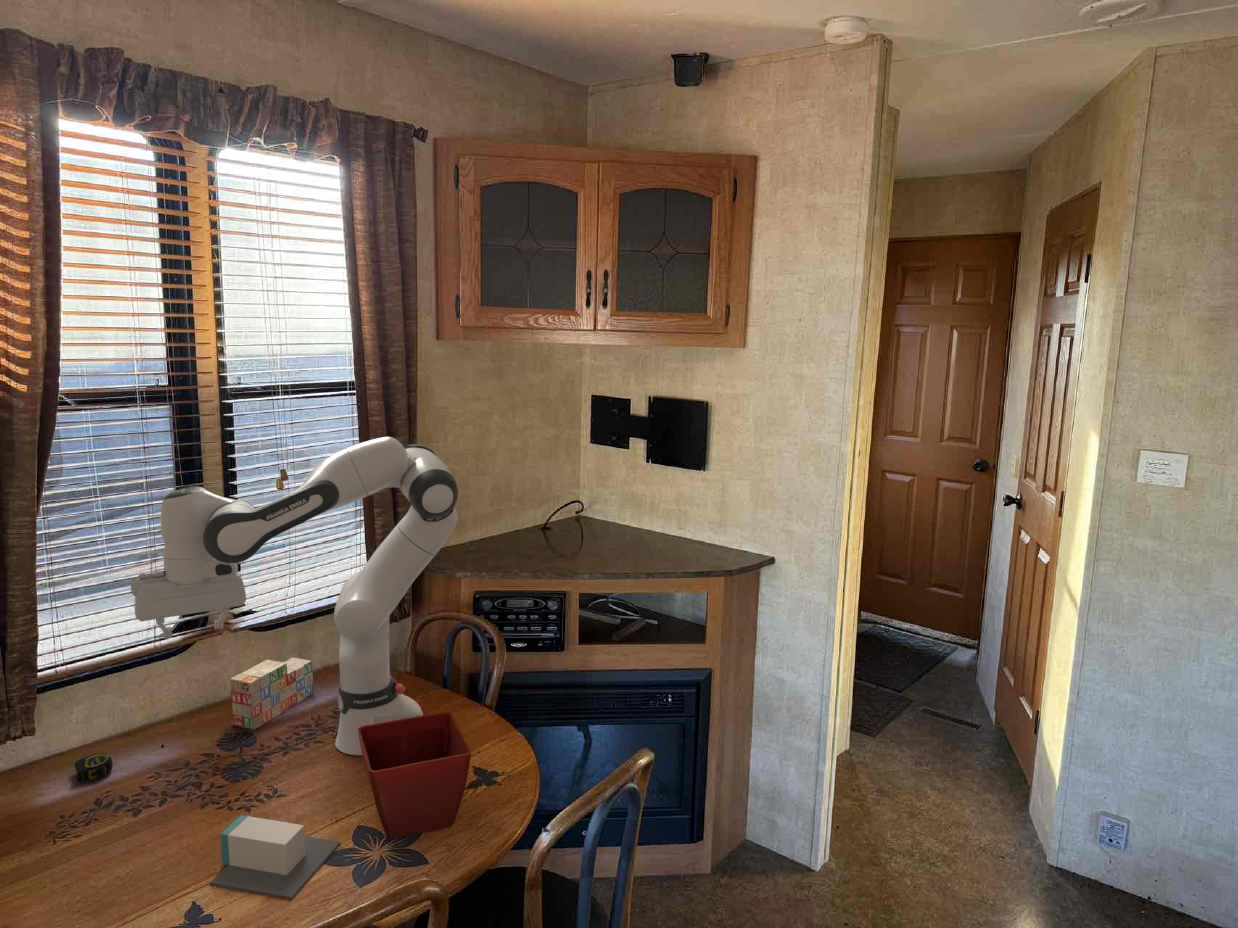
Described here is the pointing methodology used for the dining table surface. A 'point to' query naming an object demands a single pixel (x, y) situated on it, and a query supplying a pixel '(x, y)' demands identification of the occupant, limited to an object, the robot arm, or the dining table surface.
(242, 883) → the mat
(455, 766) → the plant pot
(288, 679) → the stack of blocks
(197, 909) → the dining table surface
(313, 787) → the dining table surface
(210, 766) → the dining table surface
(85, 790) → the dining table surface
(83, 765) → the tape measure
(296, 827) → the cream block
